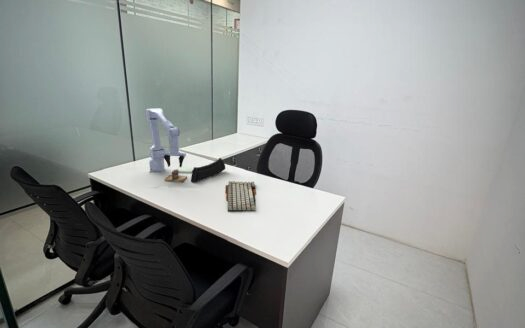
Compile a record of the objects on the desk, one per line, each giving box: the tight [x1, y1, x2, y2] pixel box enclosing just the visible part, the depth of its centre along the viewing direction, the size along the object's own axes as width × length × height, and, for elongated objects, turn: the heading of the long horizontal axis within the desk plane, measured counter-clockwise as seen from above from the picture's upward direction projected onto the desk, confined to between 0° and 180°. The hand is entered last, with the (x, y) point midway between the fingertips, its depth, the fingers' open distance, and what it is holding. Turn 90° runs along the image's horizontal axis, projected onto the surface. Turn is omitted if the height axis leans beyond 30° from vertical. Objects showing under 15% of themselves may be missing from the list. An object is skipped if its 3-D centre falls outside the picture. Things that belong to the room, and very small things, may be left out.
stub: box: [164, 169, 188, 183], centre depth 171 cm, size 12×8×6 cm, turn 87°
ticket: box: [175, 166, 194, 174], centre depth 188 cm, size 12×9×1 cm
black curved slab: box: [190, 157, 226, 183], centre depth 179 cm, size 17×3×30 cm
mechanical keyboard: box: [224, 180, 257, 213], centre depth 154 cm, size 38×19×3 cm, turn 8°
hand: (175, 166), depth 171 cm, fingers open, 7 cm apart
